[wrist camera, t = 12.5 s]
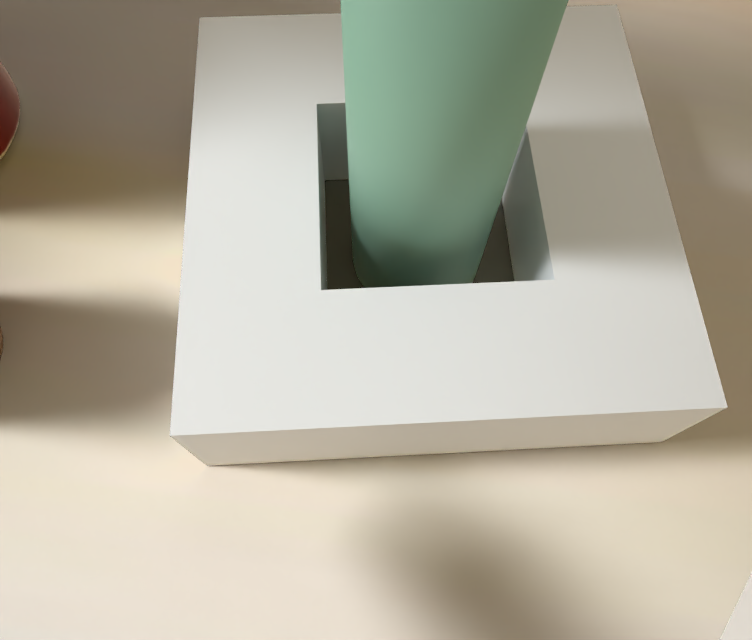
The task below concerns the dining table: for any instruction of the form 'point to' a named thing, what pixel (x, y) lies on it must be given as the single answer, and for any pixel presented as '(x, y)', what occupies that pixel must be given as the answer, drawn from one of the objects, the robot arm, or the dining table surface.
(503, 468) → the dining table surface
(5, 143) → the soda can
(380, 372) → the white square hole block
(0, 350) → the short pin
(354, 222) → the tall pin
